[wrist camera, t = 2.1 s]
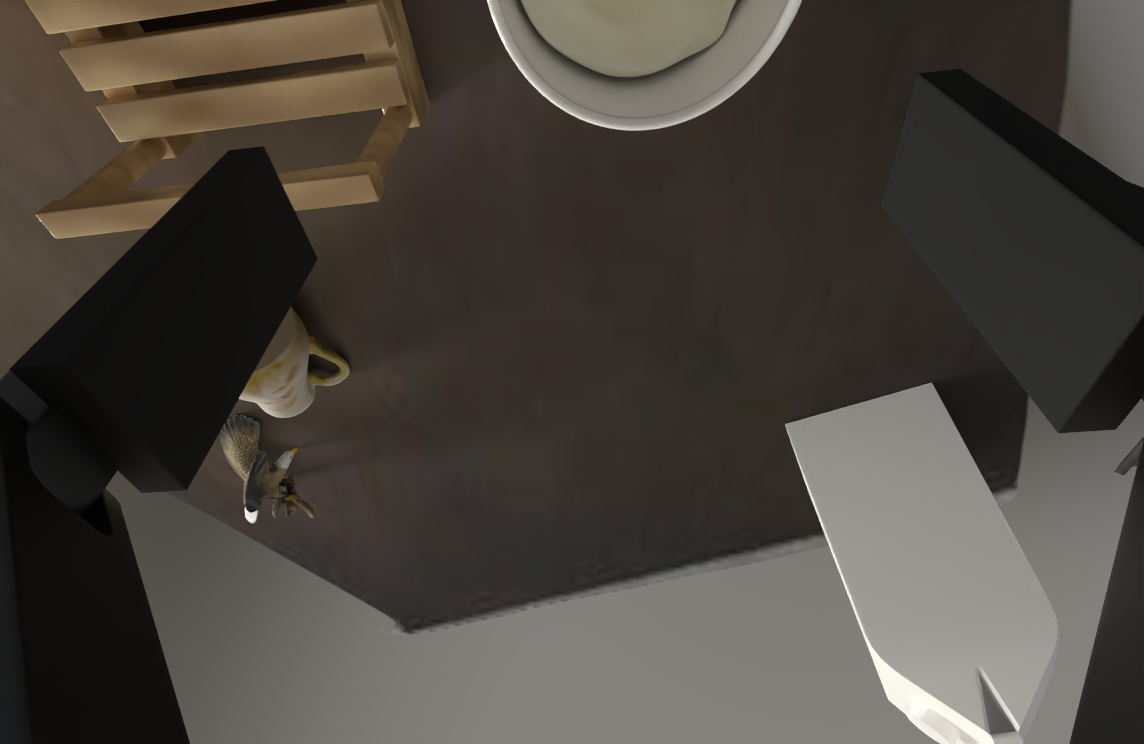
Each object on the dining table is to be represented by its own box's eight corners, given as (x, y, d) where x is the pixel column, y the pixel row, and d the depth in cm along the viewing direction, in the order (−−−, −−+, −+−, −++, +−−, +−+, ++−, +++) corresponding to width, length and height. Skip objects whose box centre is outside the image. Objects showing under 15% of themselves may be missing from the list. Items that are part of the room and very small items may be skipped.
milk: (938, 465, 54) (1132, 815, 35) (810, 496, 57) (925, 830, 39) (931, 382, 46) (1175, 773, 28) (784, 424, 50) (913, 796, 31)
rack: (-15, -181, 24) (-299, -173, 16) (332, -245, 22) (207, -269, 15) (175, 137, 33) (53, 241, 25) (430, 104, 31) (384, 203, 24)
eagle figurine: (344, 478, 53) (281, 432, 46) (291, 549, 50) (215, 511, 43) (292, 449, 57) (226, 401, 49) (240, 514, 54) (161, 473, 47)
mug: (263, 392, 47) (159, 438, 38) (269, 273, 44) (159, 290, 35) (349, 415, 46) (264, 468, 37) (361, 296, 44) (273, 320, 34)
